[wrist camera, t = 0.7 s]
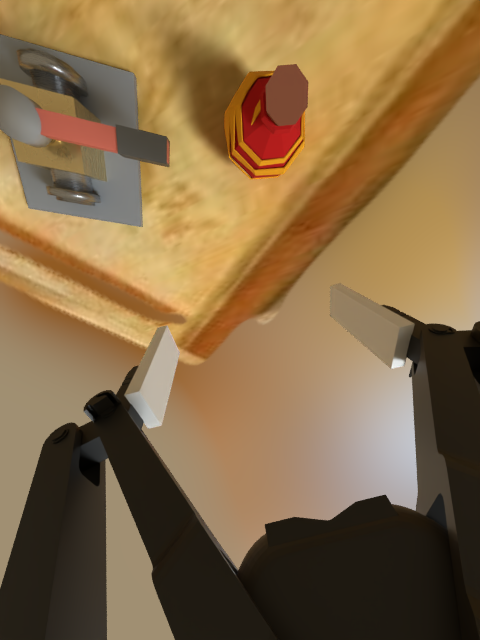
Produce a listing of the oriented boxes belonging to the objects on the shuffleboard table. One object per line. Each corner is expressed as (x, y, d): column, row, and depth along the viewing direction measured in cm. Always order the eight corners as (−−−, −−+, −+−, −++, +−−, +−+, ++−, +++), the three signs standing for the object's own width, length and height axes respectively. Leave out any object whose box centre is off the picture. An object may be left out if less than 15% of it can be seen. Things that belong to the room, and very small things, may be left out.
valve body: (38, 71, 25) (-36, 9, 18) (99, 87, 26) (55, 37, 19) (62, 199, 31) (15, 194, 24) (112, 208, 32) (82, 205, 25)
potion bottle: (271, 84, 28) (322, -34, 15) (296, 165, 33) (353, 130, 20) (208, 128, 30) (203, 57, 16) (241, 200, 34) (259, 190, 21)
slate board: (-10, 35, 24) (-19, 28, 23) (136, 77, 26) (133, 73, 25) (33, 208, 31) (28, 208, 30) (142, 226, 34) (140, 226, 33)
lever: (13, 142, 21) (-5, 135, 20) (0, 90, 20) (-21, 78, 18) (169, 175, 24) (166, 172, 23) (169, 133, 23) (166, 125, 21)
